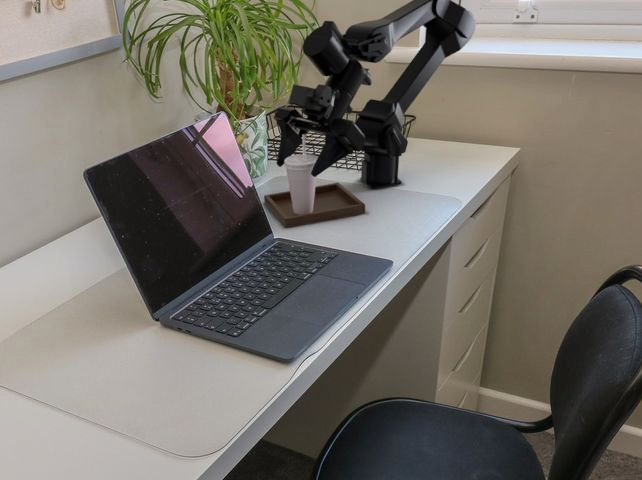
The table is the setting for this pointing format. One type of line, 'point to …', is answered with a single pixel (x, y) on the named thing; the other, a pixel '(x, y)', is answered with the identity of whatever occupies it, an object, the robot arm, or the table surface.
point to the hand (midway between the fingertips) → (295, 170)
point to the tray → (316, 205)
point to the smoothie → (301, 180)
